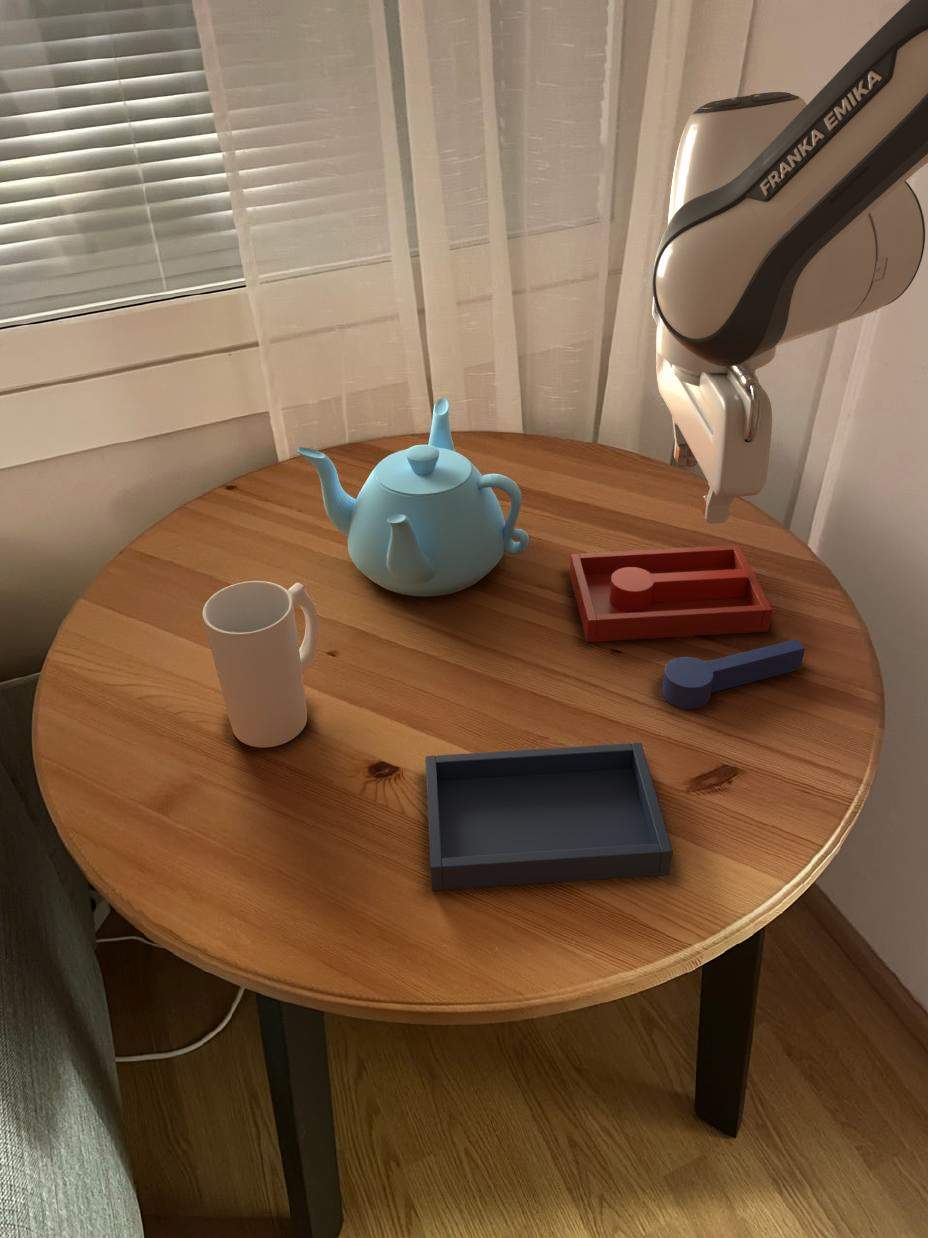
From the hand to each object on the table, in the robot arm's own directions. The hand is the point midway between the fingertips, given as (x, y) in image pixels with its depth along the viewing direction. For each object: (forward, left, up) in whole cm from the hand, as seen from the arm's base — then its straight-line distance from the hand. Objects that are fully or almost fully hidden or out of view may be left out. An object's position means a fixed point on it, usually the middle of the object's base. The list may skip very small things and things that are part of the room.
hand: (699, 489), depth 84 cm
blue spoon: (-2, +9, -14) cm, 17 cm away
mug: (+36, +9, -14) cm, 40 cm away
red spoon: (0, -3, -13) cm, 14 cm away
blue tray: (+16, +23, -14) cm, 31 cm away
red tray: (+1, -3, -14) cm, 14 cm away
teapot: (+24, -13, -14) cm, 30 cm away
